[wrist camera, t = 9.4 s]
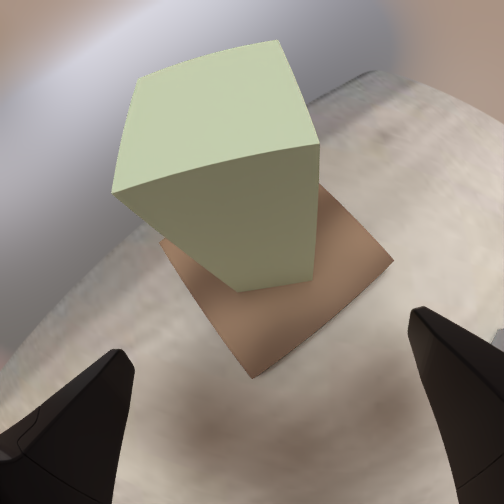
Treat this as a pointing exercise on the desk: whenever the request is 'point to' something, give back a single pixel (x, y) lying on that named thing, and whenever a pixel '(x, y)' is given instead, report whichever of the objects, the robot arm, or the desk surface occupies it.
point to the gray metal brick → (499, 340)
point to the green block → (226, 165)
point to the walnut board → (287, 290)
